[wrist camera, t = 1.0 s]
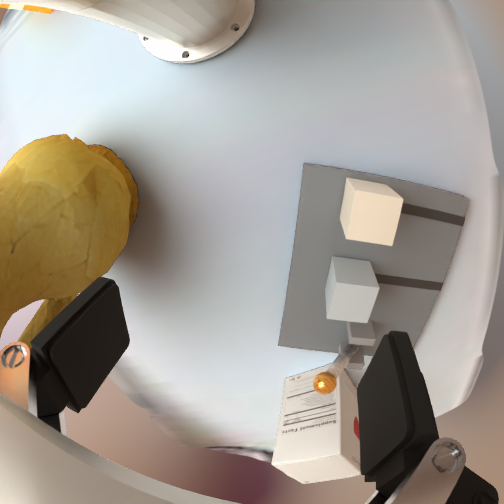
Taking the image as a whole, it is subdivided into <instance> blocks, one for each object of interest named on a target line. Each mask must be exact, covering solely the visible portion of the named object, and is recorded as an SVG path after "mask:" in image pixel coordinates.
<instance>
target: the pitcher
mask: <svg viewBox="0 0 504 504" xmlns="http://www.w3.org/2000/svg"><path fill="white" fill-rule="evenodd" d="M116 156H117V155H116V154H115V153H113V152H112V150H111V149H107V147H104V146H101V145H97V144H96V145H94V144H93V145H88V146H87V145H86V144H85V143H84V142H82V141H81V140H79V139H78V138H76V137H75V138H74V140H72V139H70V137H69V136H68V135H67V134H62V135H52V136H49V137H46V138H41V139H37V140H34V141H33V142H31V143H29V144H27V145H26V146H24V147H23V148H21V149H20V150H19V151H18V152H17V153H15V154H14V155H13V157H12V158H11V159H10V160H9V161H8V163H7V164H6V166H5V167H4V169H3V170H2V171H1V173H0V337H1V334H2V330H3V328H4V326H5V325H6V323H7V321H8V320H9V318H10V317H11V315H12V314H13V313H15V312H17V311H18V310H19V309H21V308H23V307H25V306H27V305H29V304H30V303H32V302H35V301H37V300H41V299H45V300H44V302H43V303H42V305H41V306H40V308H39V309H38V311H37V312H36V314H35V315H34V317H33V319H32V320H31V322H30V323H29V324H28V326H27V327H26V329H25V330H24V332H23V334H22V335H21V337H20V338H19V339H18V341H17V342H22V343H25V344H26V345H27V346H28V347H29V349H31V348H32V345H31V343H30V342H31V341H32V340H33V339H34V338H35V337H36V335H37V334H38V333H39V332H40V331H41V330H42V329H43V328H44V327H45V326H46V325H47V324H49V323H50V322H51V321H52V320H53V319H54V318H55V317H56V316H57V315H58V314H59V313H60V312H61V311H62V310H63V309H64V308H65V307H66V306H67V305H68V304H69V303H70V302H72V301H73V300H74V299H75V298H76V297H77V295H78V293H81V292H82V291H84V290H85V289H86V288H87V287H88V286H89V285H90V284H91V283H92V282H94V281H95V280H96V279H97V278H98V277H101V276H103V275H104V274H106V273H107V272H108V271H109V269H110V268H111V266H112V265H113V263H114V262H115V260H116V259H117V258H118V256H119V255H120V254H121V252H122V250H123V249H124V247H125V244H126V242H127V240H128V233H129V228H130V227H131V225H132V224H133V223H134V222H135V221H134V220H135V218H136V216H137V212H136V211H137V209H138V208H139V201H138V195H137V193H138V191H137V190H138V188H137V184H136V183H135V182H134V181H133V180H134V179H133V178H132V175H131V174H130V173H129V172H130V170H129V169H128V168H126V166H125V165H124V162H123V160H121V159H120V158H118V157H116Z"/></svg>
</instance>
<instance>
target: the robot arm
mask: <svg viewBox="0 0 504 504" xmlns="http://www.w3.org/2000/svg"><path fill="white" fill-rule="evenodd" d="M0 4H23V5H32V6H39V7H46V8H51V9H56V10H60V11H65V12H69V13H73V14H77V15H80V16H84V17H88V18H91V19H95V20H98V21H101V22H105V23H108V24H111V25H114V26H117V27H120V28H123V29H125V30H128V31H131V32H134V33H136V34H138V36H139V39H140V41H141V43H142V45H143V46H144V47H145V49H146V50H147V51H148V52H150V53H151V54H152V55H153V56H155V57H158V58H160V59H162V60H165V61H168V62H173V63H180V64H182V63H194V62H199V61H204V60H206V59H209V58H212V57H214V56H216V55H218V54H220V53H222V52H224V51H225V50H227V49H228V48H229V47H231V46H232V45H233V44H235V43H236V42H237V41H238V40H239V39H240V38H241V37H242V36H243V34H244V33H245V31H246V30H247V28H248V27H249V25H250V23H251V21H252V19H253V16H254V11H255V0H0ZM236 28H239V30H238V31H235V29H236ZM189 54H190V55H189ZM187 55H189V57H188V58H187ZM129 342H130V338H129V334H128V330H127V325H126V321H125V316H124V312H123V307H122V302H121V297H120V292H119V287H118V286H117V285H116V283H115V281H114V280H112V279H108V278H104V277H98V278H97V279H96V280H95V281H94V282H92V283H91V284H90V285H89V286H88V287H87V288H86V289H85V290H84V291H82V292H81V293H80V294H79V295H78V296H77V297H76V298H75V299H74V300H73V301H72V302H70V303H69V304H68V305H67V306H66V307H65V308H64V309H63V310H62V311H61V312H60V313H59V314H58V315H57V316H56V317H55V318H54V319H53V320H52V321H51V322H50V323H49V324H47V325H46V326H45V327H44V328H43V329H42V330H41V331H40V332H39V333H38V334H37V335H36V337H35V338H34V339H33V340H32V341H31V342H30V343H31V345H32V348H31V349H29V347H28V346H27V345H26V344H25V343H22V342H14V343H10V344H9V345H7V346H5V347H4V348H3V349H2V351H1V352H0V504H240V503H235V502H230V501H226V500H221V499H217V498H213V497H209V496H204V495H201V494H197V493H194V492H190V491H187V490H184V489H180V488H177V487H174V486H171V485H168V484H165V483H163V482H159V481H157V480H154V479H151V478H149V477H147V476H144V475H142V474H139V473H137V472H134V471H132V470H130V469H127V468H125V467H123V466H121V465H119V464H116V463H114V462H112V461H110V460H108V459H106V458H104V457H102V456H100V455H98V454H96V453H94V452H92V451H90V450H89V449H87V448H85V447H83V446H82V445H80V444H78V443H76V442H74V441H73V440H71V439H69V438H68V437H67V432H66V425H65V418H64V408H65V407H66V406H67V407H68V408H70V409H71V410H73V411H75V412H77V413H79V412H80V410H81V409H82V408H85V407H86V406H87V405H88V403H89V402H90V400H91V399H92V398H93V396H94V395H95V393H96V392H97V390H98V389H99V387H100V386H101V384H102V383H103V381H104V380H105V379H106V377H107V376H108V374H109V373H110V371H111V370H112V369H113V367H114V366H115V364H116V363H117V362H118V360H119V359H120V357H121V356H122V354H123V353H124V352H125V350H126V349H127V347H128V346H129ZM357 401H358V416H359V436H360V472H361V474H362V475H365V482H376V492H375V493H374V494H373V495H372V496H371V497H370V498H369V499H368V501H367V502H366V503H365V504H498V500H499V498H498V493H497V490H496V489H495V488H494V487H493V486H492V485H491V484H489V483H488V482H487V481H485V480H484V479H482V478H481V477H480V476H478V475H477V474H475V473H474V472H472V471H471V470H470V469H469V468H467V467H466V466H465V462H466V454H465V451H464V448H463V447H462V445H461V444H460V443H459V442H458V441H457V440H454V439H452V438H447V437H444V438H440V439H439V435H438V431H437V427H436V422H435V417H434V413H433V409H432V405H431V402H430V398H429V394H428V390H427V387H426V383H425V380H424V377H423V374H422V372H420V368H419V365H418V362H417V359H416V356H415V353H414V350H413V347H412V344H411V341H410V338H409V335H408V333H407V332H402V331H390V332H389V333H388V334H385V335H384V336H383V338H382V340H381V342H380V344H379V346H378V348H377V350H376V352H375V354H374V356H373V358H372V360H371V362H370V364H369V366H368V368H367V370H366V372H365V374H364V376H363V377H362V379H361V381H360V383H359V385H358V388H357Z"/></svg>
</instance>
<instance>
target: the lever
mask: <svg viewBox="0 0 504 504" xmlns="http://www.w3.org/2000/svg"><path fill="white" fill-rule="evenodd" d="M359 346H360V345H356V344H349V342H348V344H347V345H346V346H345V348H344V349H343V350H342V352H341V353H340V354H339V356H338V357H337V358H336V359H335V361H334V362H333V363H332V364H331V366H330V367H329V368H328V369H327V371H325V372H321V373H319V374H317V375H316V376H315V378H314V380H313V387H314V389H315V391H316V392H317V393H319V394H322V395H326V394H330V393H331V392H333V391H334V390H335V388H336V386H337V378H338V376H339V375H340V374H341V372H342V371H343V370H344V368H345V367H346V365H347V364H348V363H349V361H350V360H351V358H352V357H353V355H354V354H355V353H356V352H357V351H358V348H359Z"/></svg>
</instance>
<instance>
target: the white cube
mask: <svg viewBox="0 0 504 504" xmlns="http://www.w3.org/2000/svg"><path fill="white" fill-rule="evenodd" d="M379 288H380V287H379V285H378V282H377V279H376V277H375V274H374V271H373V269H372V266H371V263H370V261H364V260H357V259H350V258H343V257H336V256H332V260H331V265H330V269H329V274H328V278H327V283H326V287H325V297H326V315H327V319H333V320H341V321H350V322H360V323H367V322H368V320H369V317H370V314H371V311H372V309H373V306H374V303H375V300H376V297H377V294H378V291H379Z"/></svg>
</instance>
